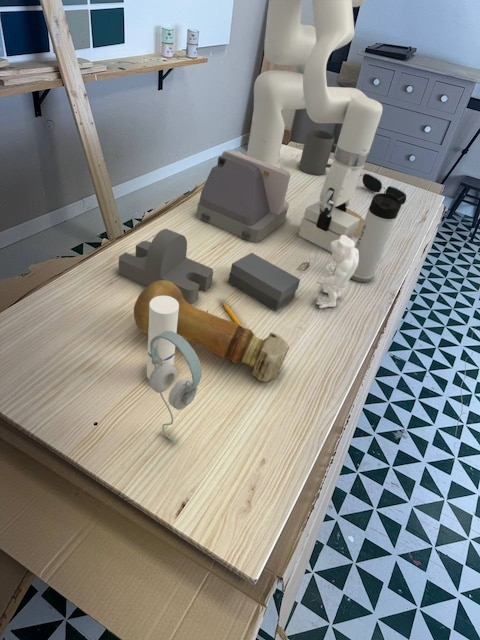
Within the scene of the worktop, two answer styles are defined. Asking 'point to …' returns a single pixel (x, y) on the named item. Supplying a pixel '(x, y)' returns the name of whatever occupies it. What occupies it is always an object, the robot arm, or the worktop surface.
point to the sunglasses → (376, 186)
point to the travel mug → (375, 234)
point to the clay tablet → (358, 229)
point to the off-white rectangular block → (319, 234)
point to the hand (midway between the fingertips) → (329, 223)
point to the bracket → (166, 265)
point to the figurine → (339, 269)
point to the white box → (334, 219)
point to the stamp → (216, 333)
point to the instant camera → (244, 196)
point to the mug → (316, 152)
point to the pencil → (231, 314)
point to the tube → (162, 328)
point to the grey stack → (263, 281)
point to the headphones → (174, 373)
